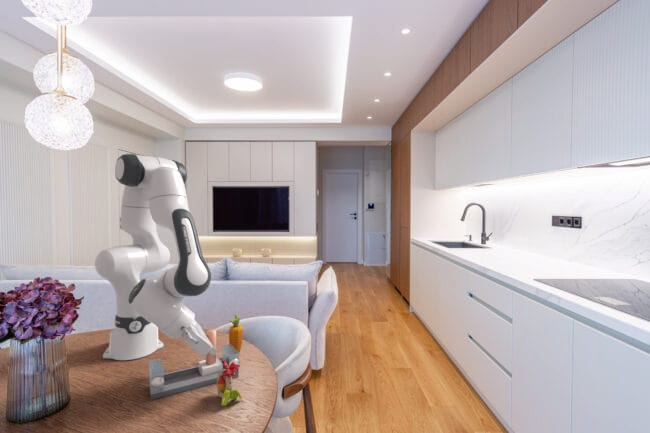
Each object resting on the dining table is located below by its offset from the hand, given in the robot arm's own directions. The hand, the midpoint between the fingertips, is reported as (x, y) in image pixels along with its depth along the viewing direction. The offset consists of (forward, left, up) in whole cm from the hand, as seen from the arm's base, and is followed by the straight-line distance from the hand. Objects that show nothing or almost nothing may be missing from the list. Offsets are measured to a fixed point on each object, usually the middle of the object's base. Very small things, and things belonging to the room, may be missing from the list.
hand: (213, 348), depth 98 cm
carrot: (-9, +10, -9) cm, 16 cm away
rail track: (0, -5, -9) cm, 10 cm away
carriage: (0, -1, -7) cm, 7 cm away
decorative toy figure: (+14, 0, -9) cm, 17 cm away
